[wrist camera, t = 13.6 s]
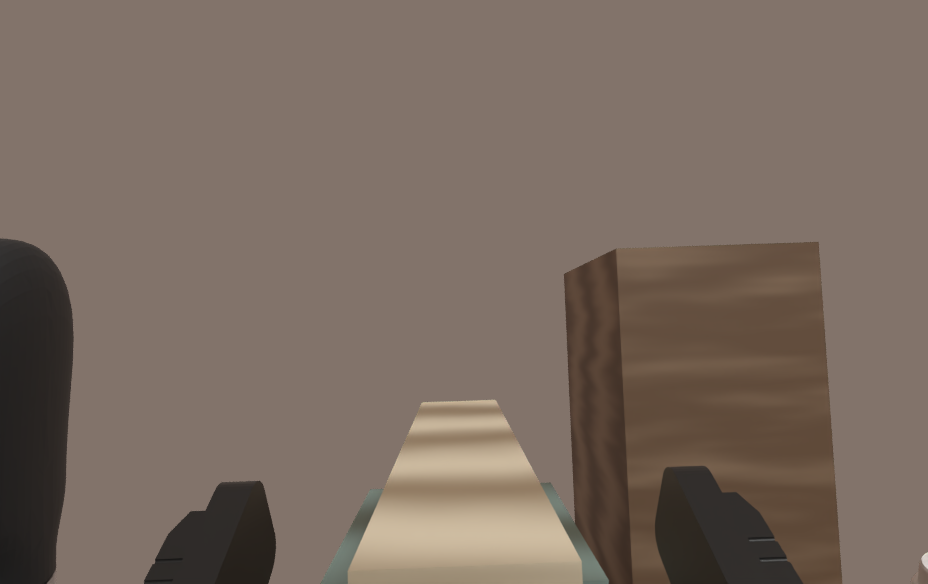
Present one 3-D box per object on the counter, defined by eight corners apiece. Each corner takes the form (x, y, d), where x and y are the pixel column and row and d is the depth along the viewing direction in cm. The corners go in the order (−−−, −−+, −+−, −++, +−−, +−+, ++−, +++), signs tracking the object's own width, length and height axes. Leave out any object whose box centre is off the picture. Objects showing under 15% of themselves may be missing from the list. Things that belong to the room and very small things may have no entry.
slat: (590, 744, 10) (581, 561, 10) (351, 754, 10) (347, 571, 10) (497, 455, 32) (495, 399, 32) (423, 458, 32) (422, 402, 32)
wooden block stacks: (1191, 1412, 15) (1074, 182, 17) (333, 1466, 15) (308, 207, 17) (726, 724, 41) (700, 269, 43) (412, 738, 41) (399, 279, 43)
